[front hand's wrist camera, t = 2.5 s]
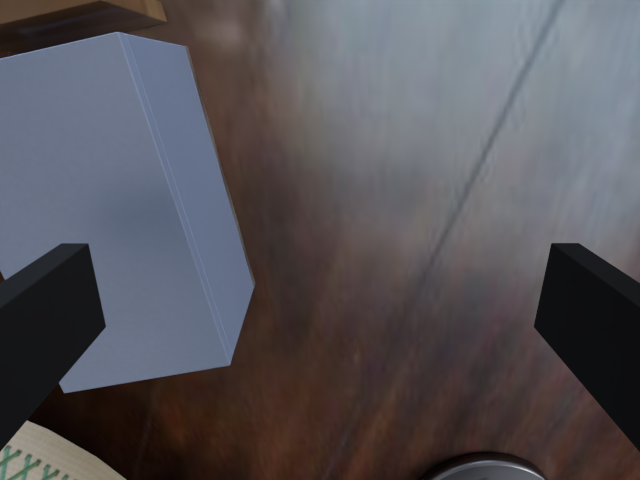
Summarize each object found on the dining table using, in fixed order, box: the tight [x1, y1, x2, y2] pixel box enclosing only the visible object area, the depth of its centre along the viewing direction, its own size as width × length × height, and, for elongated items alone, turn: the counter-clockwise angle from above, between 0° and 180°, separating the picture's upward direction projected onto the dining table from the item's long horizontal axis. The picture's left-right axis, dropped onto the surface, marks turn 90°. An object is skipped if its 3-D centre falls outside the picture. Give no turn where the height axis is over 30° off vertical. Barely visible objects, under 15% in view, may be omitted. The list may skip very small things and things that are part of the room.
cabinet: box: [0, 32, 256, 393], centre depth 28 cm, size 18×11×11 cm, turn 11°
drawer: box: [0, 0, 167, 53], centre depth 25 cm, size 23×9×9 cm, turn 11°
